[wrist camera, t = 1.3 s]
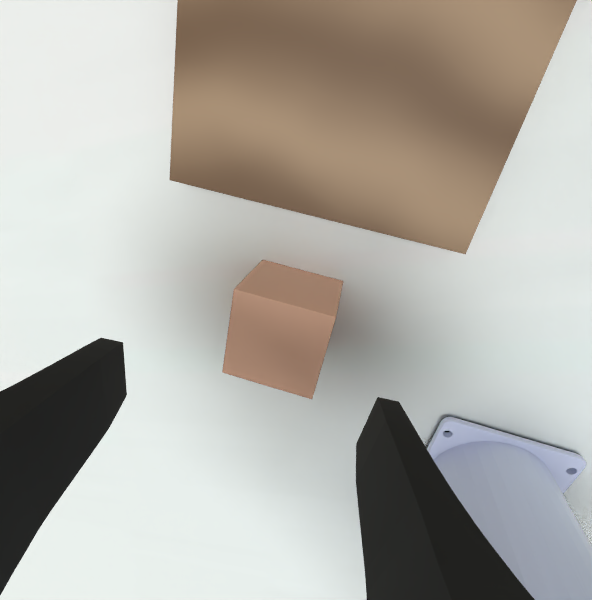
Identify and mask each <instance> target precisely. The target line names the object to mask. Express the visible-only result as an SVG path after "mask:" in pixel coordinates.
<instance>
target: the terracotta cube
mask: <svg viewBox="0 0 592 600" xmlns="http://www.w3.org/2000/svg"><path fill="white" fill-rule="evenodd" d="M342 285H343V281H341V280H337V279H333V278H330V277H326V276H322V275H318V274H315V273H311V272H307V271H303V270H300V269H296V268H292V267H288V266H285V265H281V264H277V263H273V262H270V261H266V260H262V261H261V262H260V263H259V264H258V265H257V266H256V267H255V268H254V269H253V270H252V271H251V272H250V273H249V274H248V275H247V276H246V277H245V278H244V279H243V280H242V281H241V282H240V283H239V284H238V285H237V287H236V288H235V289H234V293H233V300H232V307H231V314H230V321H229V328H228V336H227V343H226V350H225V357H224V364H223V371H222V372H223V373H226V374H229V375H233V376H236V377H239V378H243V379H246V380H249V381H253V382H256V383H259V384H263V385H266V386H269V387H273V388H276V389H279V390H283V391H286V392H289V393H293V394H296V395H299V396H303V397H306V398H309V399H312V398H313V394H314V391H315V387H316V384H317V381H318V377H319V374H320V370H321V367H322V364H323V360H324V357H325V353H326V350H327V346H328V343H329V340H330V336H331V333H332V329H333V326H334V322H335V319H336V315H337V310H338V305H339V300H340V295H341V290H342Z"/></svg>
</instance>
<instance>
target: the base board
mask: <svg viewBox="0 0 592 600" xmlns="http://www.w3.org/2000/svg"><path fill="white" fill-rule="evenodd" d="M576 1H577V0H178V5H177V27H176V50H175V72H174V94H173V117H172V139H171V162H170V180H172V181H176V182H180V183H184V184H188V185H192V186H196V187H200V188H203V189H207V190H211V191H215V192H219V193H223V194H227V195H231V196H235V197H239V198H243V199H247V200H251V201H255V202H259V203H263V204H267V205H271V206H275V207H279V208H283V209H287V210H291V211H295V212H299V213H303V214H307V215H311V216H315V217H319V218H323V219H327V220H331V221H335V222H339V223H343V224H347V225H351V226H355V227H359V228H363V229H367V230H371V231H375V232H379V233H383V234H387V235H391V236H395V237H399V238H403V239H407V240H411V241H415V242H419V243H423V244H427V245H431V246H435V247H439V248H443V249H447V250H451V251H455V252H459V253H463V254H466V252H467V249H468V247H469V245H470V242H471V240H472V238H473V236H474V233H475V231H476V229H477V226H478V224H479V222H480V220H481V217H482V215H483V213H484V211H485V208H486V206H487V204H488V201H489V199H490V197H491V195H492V192H493V190H494V188H495V185H496V183H497V181H498V179H499V176H500V174H501V172H502V169H503V167H504V165H505V163H506V160H507V158H508V156H509V154H510V151H511V149H512V147H513V144H514V142H515V140H516V138H517V135H518V133H519V131H520V128H521V126H522V124H523V122H524V119H525V117H526V115H527V113H528V110H529V108H530V106H531V103H532V101H533V99H534V97H535V94H536V92H537V90H538V87H539V85H540V83H541V81H542V78H543V76H544V74H545V71H546V69H547V67H548V65H549V62H550V60H551V58H552V56H553V53H554V51H555V49H556V46H557V44H558V42H559V40H560V37H561V35H562V33H563V30H564V28H565V26H566V24H567V21H568V19H569V17H570V14H571V12H572V10H573V8H574V5H575V3H576Z"/></svg>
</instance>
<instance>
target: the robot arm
mask: <svg viewBox="0 0 592 600" xmlns="http://www.w3.org/2000/svg"><path fill="white" fill-rule="evenodd" d="M126 395H127V393H126V379H125V365H124V351H123V342H118V341H114V340H109V339H104V338H100V339H98V340H96V341H94V342H92V343H90V344H88V345H86V346H85V347H83V348H81V349H79V350H77V351H75V352H74V353H72V354H70V355H68V356H66V357H65V358H63V359H61V360H59V361H57V362H56V363H54V364H52V365H50V366H48V367H46V368H44V369H43V370H41V371H39V372H37V373H35V374H33V375H31V376H30V377H28V378H26V379H24V380H22V381H20V382H18V383H17V384H15V385H13V386H11V387H9V388H7V389H5V390H3V391H1V392H0V595H1V593H2V591H3V590H4V588H5V586H6V584H7V582H8V581H9V579H10V577H11V575H12V574H13V572H14V570H15V568H16V567H17V565H18V563H19V562H20V560H21V558H22V557H23V555H24V553H25V552H26V550H27V548H28V546H29V545H30V543H31V541H32V540H33V538H34V536H35V535H36V533H37V531H38V530H39V528H40V526H41V525H42V523H43V522H44V520H45V519H46V517H47V516H48V514H49V513H50V511H51V510H52V508H53V507H54V505H55V504H56V503H57V501H58V500H59V498H60V497H61V496H62V494H63V493H64V491H65V490H66V489H67V487H68V486H69V484H70V483H71V481H72V480H73V479H74V477H75V476H76V474H77V473H78V472H79V470H80V469H81V467H82V466H83V465H84V463H85V462H86V460H87V459H88V458H89V456H90V455H91V453H92V452H93V450H94V449H95V448H96V446H97V445H98V443H99V442H100V440H101V439H102V438H103V436H104V435H105V433H106V432H107V430H108V429H109V427H110V425H111V423H112V422H113V420H114V418H115V416H116V414H117V413H118V411H119V409H120V407H121V405H122V403H123V401H124V399H125V397H126ZM444 431H450V432H447V433H446V432H444ZM585 467H586V461H585V460H584V458H583V457H582V456H581V455H579V454H576V453H573V452H569V451H566V450H563V449H559V448H556V447H552V446H549V445H546V444H542V443H539V442H535V441H532V440H529V439H525V438H522V437H518V436H515V435H512V434H508V433H505V432H501V431H498V430H495V429H491V428H488V427H484V426H481V425H478V424H474V423H471V422H467V421H464V420H461V419H457V418H454V417H446V418H444V419H443V420H442V421H441V422H440V424H439V426H438V428H437V430H436V432H435V434H434V436H433V438H432V440H431V442H430V444H429V445H428V447H427V449H426V447H425V445H424V444H423V442H422V440H421V439H420V437H419V435H418V433H417V432H416V430H415V428H414V427H413V425H412V423H411V421H410V420H409V418H408V416H407V415H406V413H405V411H404V410H403V408H402V406H401V405H400V403H399V402H398V401H393V400H388V399H384V398H379V397H378V398H377V400H376V402H375V404H374V406H373V409H372V411H371V413H370V415H369V417H368V420H367V422H366V424H365V426H364V428H363V431H362V433H361V435H360V437H359V439H358V442H357V446H356V486H357V496H358V507H359V517H360V527H361V536H362V546H363V556H364V566H365V577H366V592H367V600H592V545H591V543H590V541H589V539H588V538H587V536H586V534H585V532H584V531H583V529H582V527H581V525H580V523H579V522H578V520H577V518H576V516H575V515H574V513H573V511H572V509H571V507H570V506H569V504H568V502H567V500H566V499H565V497H564V495H563V493H564V492H565V491H566V490H567V489H568V487H569V486H570V485H571V484H572V483H573V481H574V480H575V479H576V478H577V477H578V475H579V474H580V473H581V472H582V471H583V469H584V468H585ZM568 468H570V469H568Z"/></svg>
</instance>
